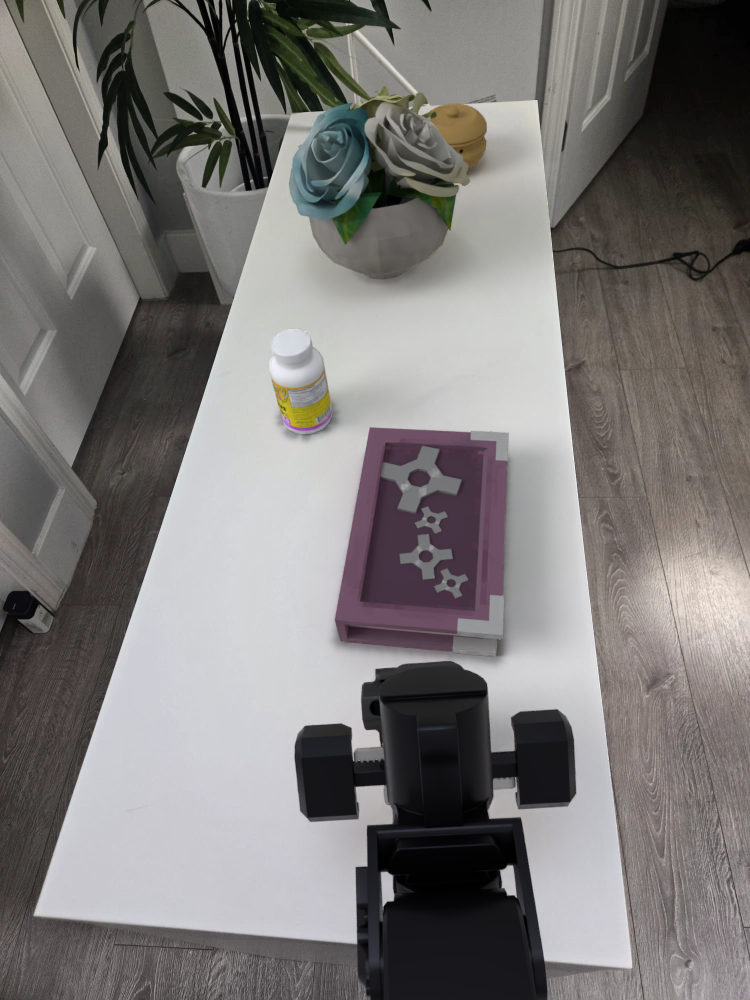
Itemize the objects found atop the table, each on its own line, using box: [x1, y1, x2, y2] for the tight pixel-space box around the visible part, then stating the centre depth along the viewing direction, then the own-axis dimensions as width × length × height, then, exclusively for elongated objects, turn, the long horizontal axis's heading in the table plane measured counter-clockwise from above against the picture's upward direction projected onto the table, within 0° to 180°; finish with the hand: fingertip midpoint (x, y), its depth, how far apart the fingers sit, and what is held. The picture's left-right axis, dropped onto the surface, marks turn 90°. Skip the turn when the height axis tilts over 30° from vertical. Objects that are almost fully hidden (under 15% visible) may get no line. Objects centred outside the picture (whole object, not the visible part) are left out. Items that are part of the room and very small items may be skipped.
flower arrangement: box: [288, 85, 471, 280], centre depth 100 cm, size 25×25×24 cm
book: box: [334, 426, 510, 658], centre depth 77 cm, size 25×16×5 cm, turn 172°
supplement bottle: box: [268, 328, 334, 435], centre depth 87 cm, size 7×7×13 cm
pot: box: [428, 103, 488, 171], centre depth 121 cm, size 12×12×10 cm
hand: (428, 711), depth 57 cm, fingers closed
